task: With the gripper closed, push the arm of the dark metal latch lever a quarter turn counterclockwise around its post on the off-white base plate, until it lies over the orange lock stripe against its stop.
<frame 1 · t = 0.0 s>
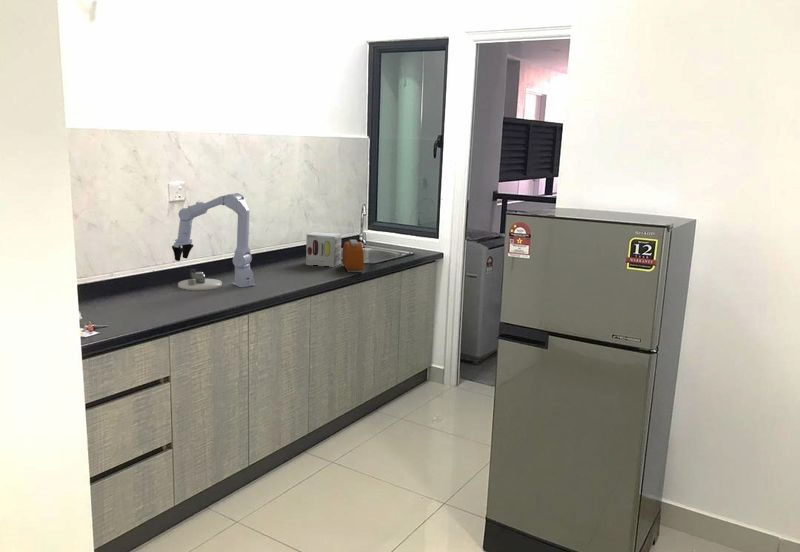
hand: (181, 259, 317), 11 cm above the worktop, tool pointing down, fingers open, 7 cm apart
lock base: (200, 285, 309), on the worktop
orange plastic container: (352, 269, 363), on the worktop
latch lever: (196, 275, 311), point 4 cm above the worktop, hinge at 0.0°
supplement box: (323, 265, 374), on the worktop
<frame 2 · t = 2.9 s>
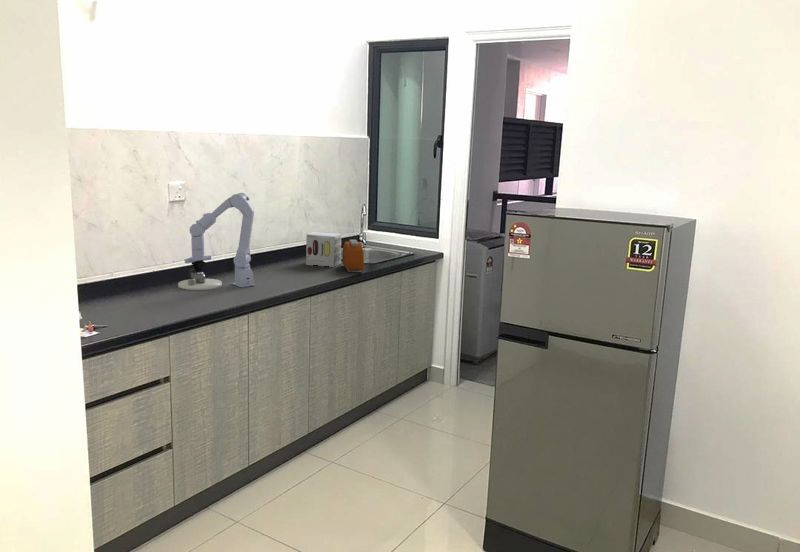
hand: (198, 276, 314), 3 cm above the worktop, tool pointing down, fingers closed, pressing on latch lever
latch lever: (196, 276, 311), point 4 cm above the worktop, hinge at 1.7°, touching gripper
everything else where it was.
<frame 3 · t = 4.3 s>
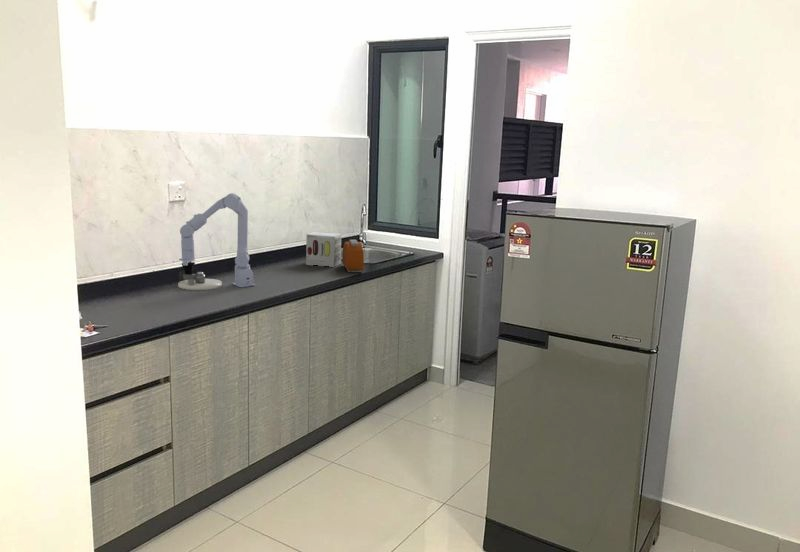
hand: (188, 277, 310), 3 cm above the worktop, tool pointing down, fingers closed
latch lever: (192, 277, 308), point 4 cm above the worktop, hinge at 50.4°, touching gripper
everything else where it was.
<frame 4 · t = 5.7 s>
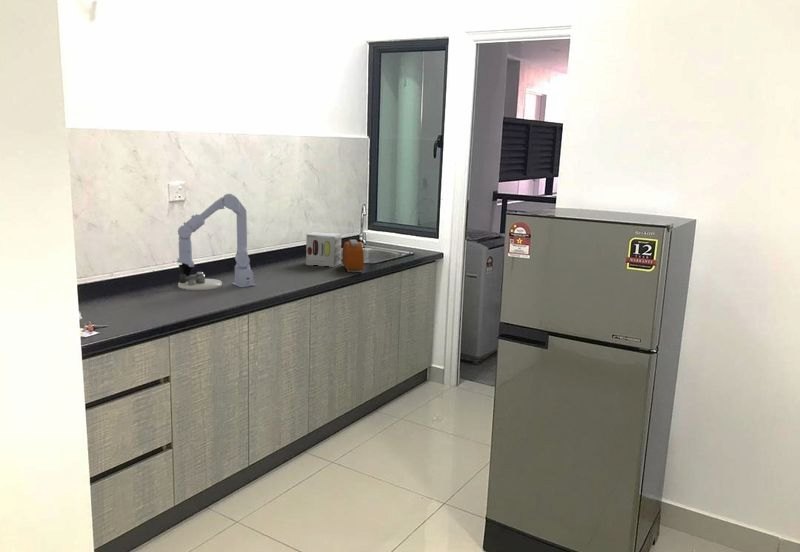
hand: (186, 279, 306), 3 cm above the worktop, tool pointing down, fingers closed
latch lever: (192, 278, 306), point 4 cm above the worktop, hinge at 90.2°, touching gripper
everything else where it was.
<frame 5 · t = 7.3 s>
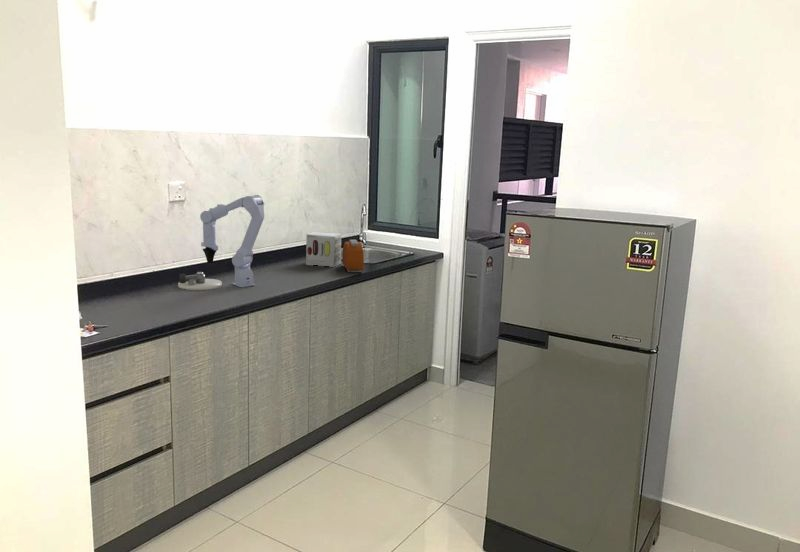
hand: (210, 262, 317), 9 cm above the worktop, tool pointing down, fingers closed
latch lever: (192, 278, 306), point 4 cm above the worktop, hinge at 90.2°
everything else where it was.
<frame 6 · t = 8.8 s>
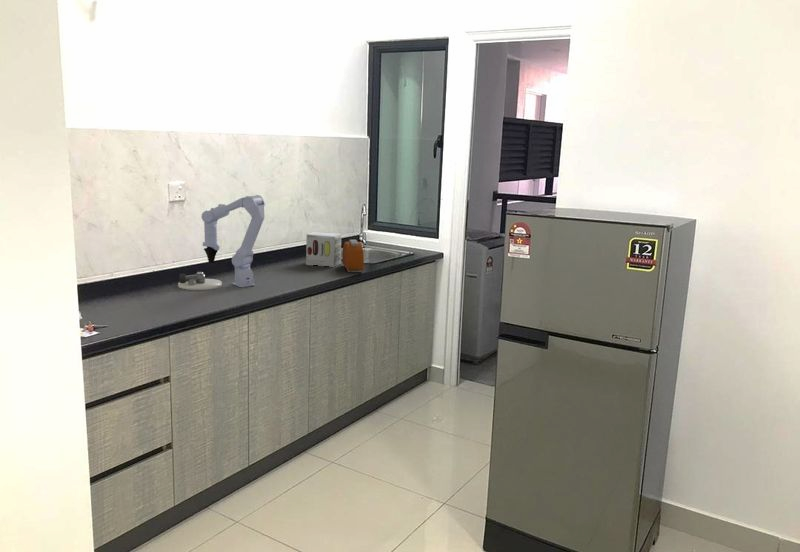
hand: (211, 262, 318), 9 cm above the worktop, tool pointing down, fingers closed
nothing on the worktop moved.
at the end: latch lever at +90° (first picture: +0°) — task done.
